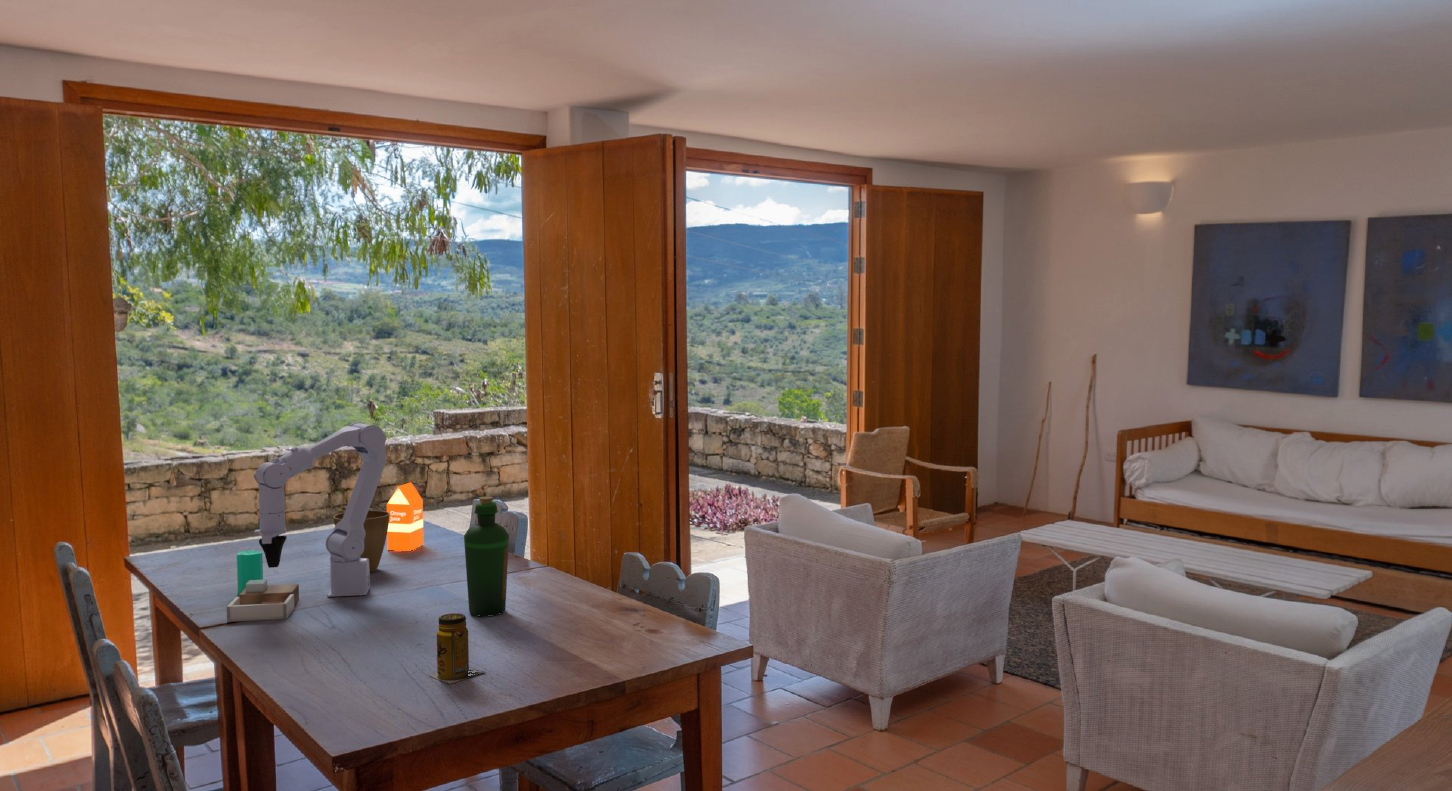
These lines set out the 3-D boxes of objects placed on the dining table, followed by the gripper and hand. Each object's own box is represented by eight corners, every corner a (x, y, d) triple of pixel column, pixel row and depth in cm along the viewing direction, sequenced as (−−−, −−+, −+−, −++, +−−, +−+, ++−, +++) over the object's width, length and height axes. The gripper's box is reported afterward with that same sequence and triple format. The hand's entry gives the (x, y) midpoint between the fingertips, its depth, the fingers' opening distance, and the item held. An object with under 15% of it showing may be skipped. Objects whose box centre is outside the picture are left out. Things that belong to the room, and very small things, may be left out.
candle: (253, 596, 255) (251, 549, 254) (232, 594, 256) (231, 548, 256) (268, 590, 261) (267, 544, 260) (248, 588, 262) (246, 543, 261)
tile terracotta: (280, 601, 237) (279, 609, 236) (283, 602, 241) (283, 611, 240) (262, 602, 236) (261, 610, 235) (266, 603, 240) (265, 612, 239)
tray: (294, 608, 244) (294, 594, 244) (286, 618, 236) (286, 603, 236) (236, 611, 242) (236, 596, 241) (227, 621, 233) (226, 606, 233)
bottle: (518, 609, 245) (517, 495, 243) (491, 621, 235) (489, 502, 233) (483, 604, 249) (482, 492, 247) (455, 615, 240) (453, 499, 238)
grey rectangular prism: (267, 587, 249) (267, 579, 248) (263, 591, 245) (263, 583, 245) (249, 588, 248) (249, 580, 248) (245, 592, 244) (245, 584, 244)
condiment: (428, 676, 198) (427, 616, 198) (464, 665, 205) (463, 607, 204) (449, 684, 194) (449, 623, 193) (486, 673, 200) (485, 614, 199)
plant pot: (402, 568, 285) (401, 513, 284) (357, 579, 272) (356, 521, 271) (367, 561, 293) (366, 507, 292) (323, 572, 280) (322, 515, 279)
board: (299, 599, 252) (298, 583, 252) (292, 608, 245) (292, 592, 244) (247, 602, 250) (247, 586, 249) (239, 611, 242) (238, 594, 242)
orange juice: (386, 550, 307) (385, 486, 306) (400, 544, 316) (399, 481, 314) (410, 551, 306) (409, 487, 304) (424, 545, 314) (423, 482, 313)
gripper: (261, 507, 251) (262, 560, 251) (247, 518, 236) (249, 574, 237) (291, 506, 252) (292, 559, 253) (279, 517, 238) (281, 573, 239)
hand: (273, 566), depth 245 cm, fingers closed
